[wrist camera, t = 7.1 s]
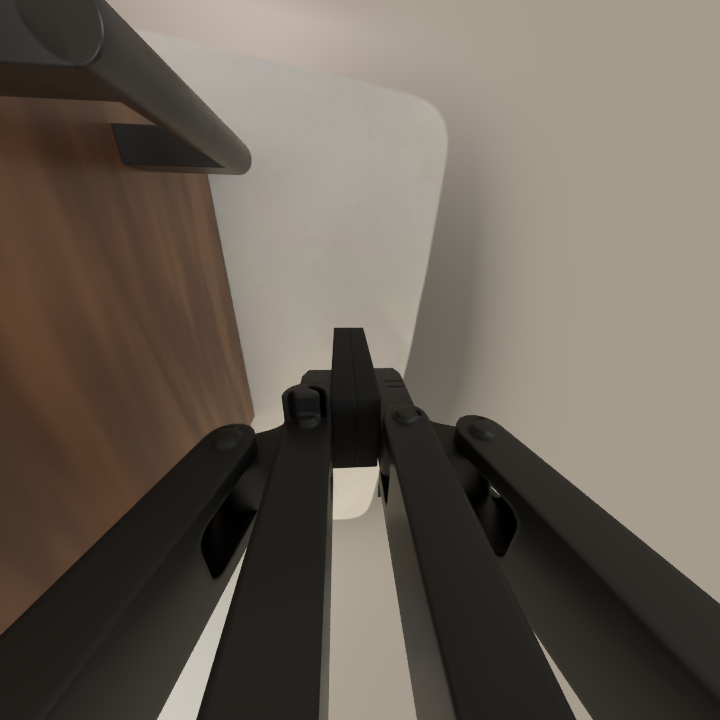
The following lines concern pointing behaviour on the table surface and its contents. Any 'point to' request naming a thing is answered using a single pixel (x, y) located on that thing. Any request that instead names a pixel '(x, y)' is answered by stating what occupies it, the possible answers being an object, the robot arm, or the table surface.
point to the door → (102, 283)
